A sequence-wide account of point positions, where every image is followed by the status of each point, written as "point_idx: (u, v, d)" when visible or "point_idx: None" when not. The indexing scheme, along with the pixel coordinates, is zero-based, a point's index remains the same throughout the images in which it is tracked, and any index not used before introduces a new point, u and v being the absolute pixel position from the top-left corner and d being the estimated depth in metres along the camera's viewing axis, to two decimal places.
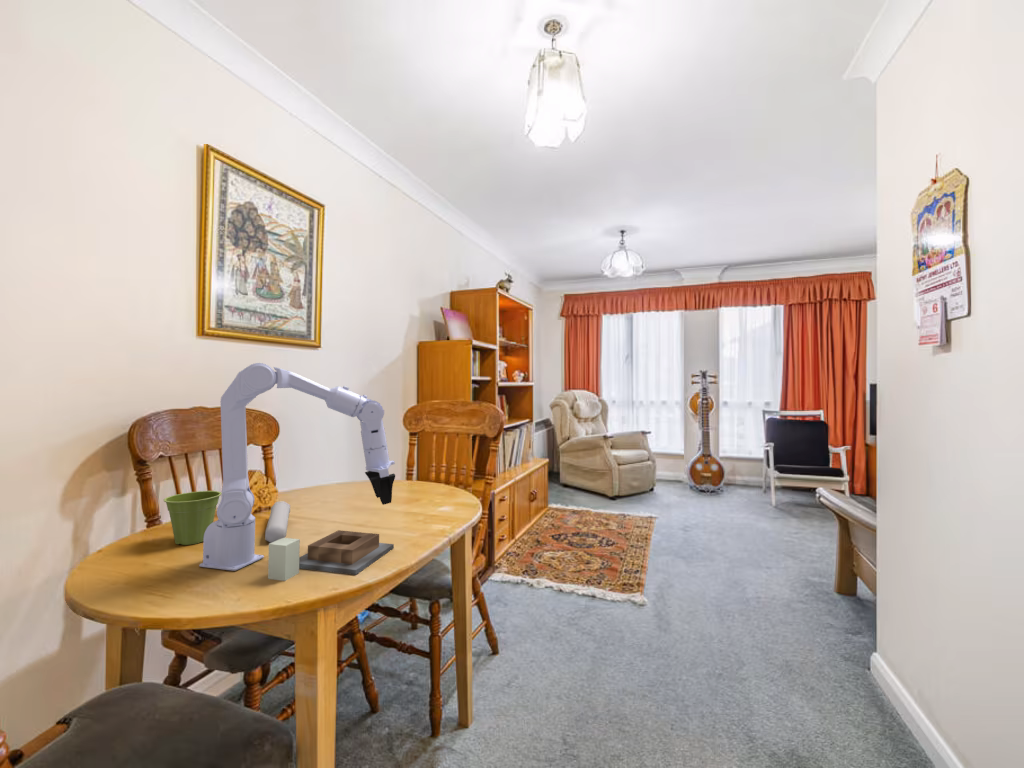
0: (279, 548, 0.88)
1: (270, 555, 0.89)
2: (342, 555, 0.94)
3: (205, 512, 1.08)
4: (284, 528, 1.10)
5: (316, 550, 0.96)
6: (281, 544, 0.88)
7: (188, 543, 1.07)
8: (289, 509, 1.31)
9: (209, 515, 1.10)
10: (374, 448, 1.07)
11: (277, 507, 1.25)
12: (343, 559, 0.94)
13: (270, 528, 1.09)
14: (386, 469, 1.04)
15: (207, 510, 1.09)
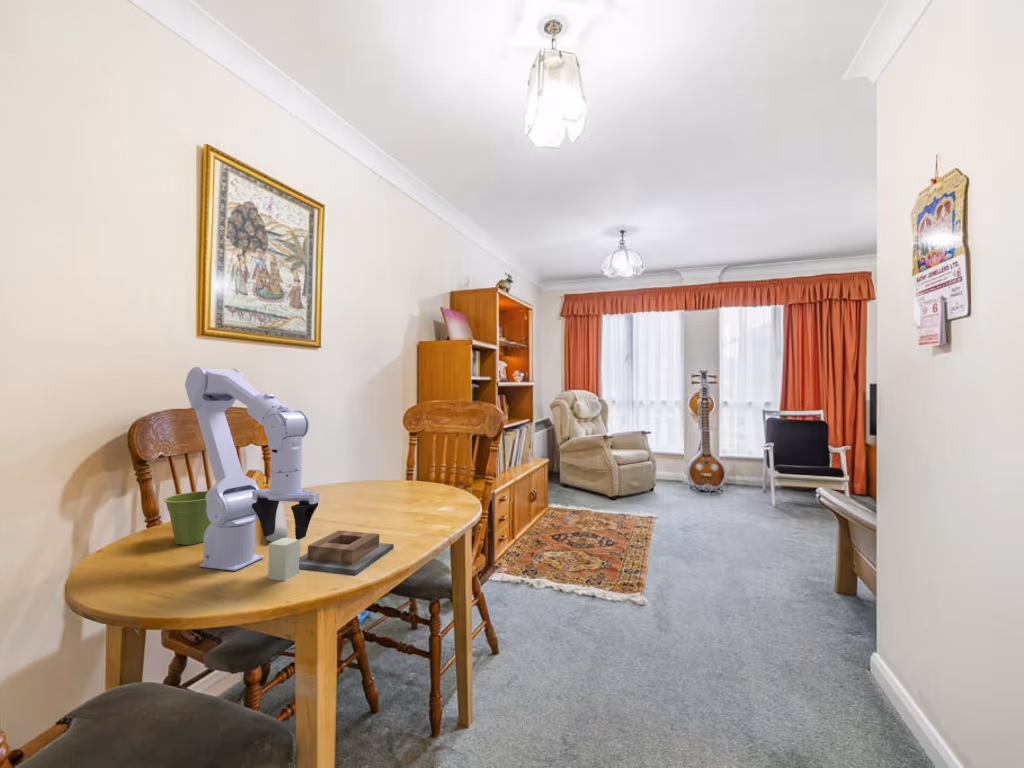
0: (279, 548, 0.88)
1: (270, 555, 0.89)
2: (342, 555, 0.94)
3: (205, 512, 1.08)
4: (285, 528, 1.11)
5: (316, 550, 0.96)
6: (281, 544, 0.88)
7: (188, 543, 1.07)
8: None
9: None
10: None
11: None
12: (343, 559, 0.94)
13: None
14: None
15: None
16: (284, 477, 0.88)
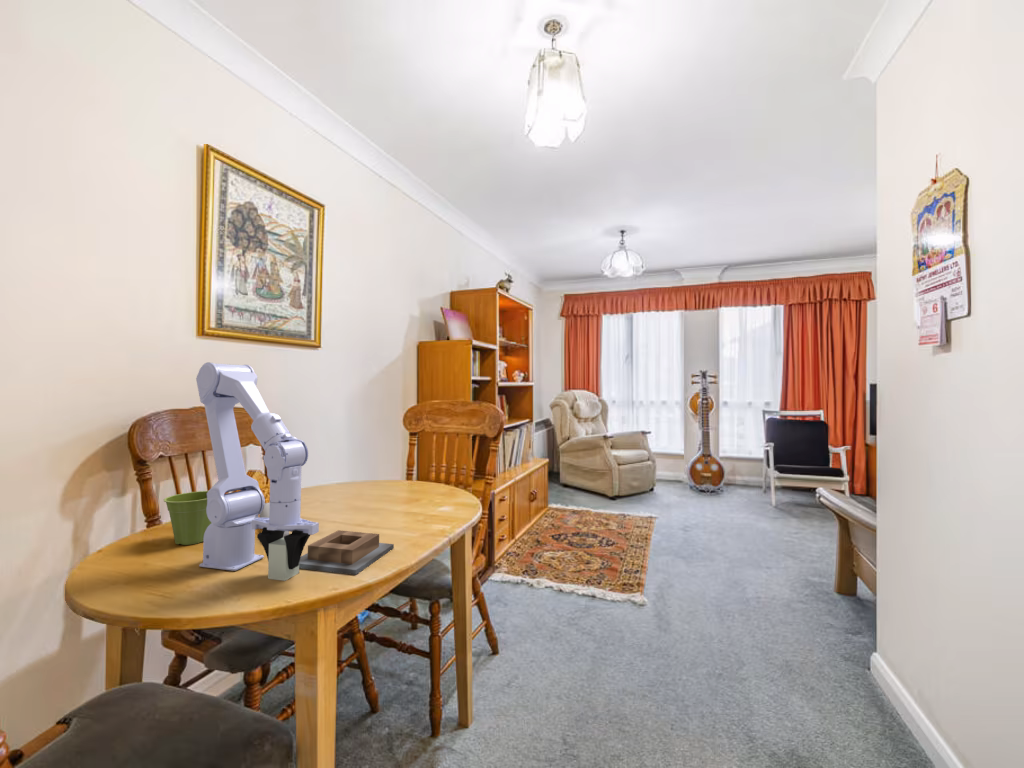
0: (279, 547, 0.88)
1: (270, 555, 0.89)
2: (342, 555, 0.94)
3: (205, 512, 1.08)
4: None
5: (316, 550, 0.96)
6: (281, 544, 0.88)
7: (188, 543, 1.07)
8: None
9: None
10: None
11: None
12: (343, 559, 0.94)
13: None
14: None
15: None
16: (283, 507, 0.88)
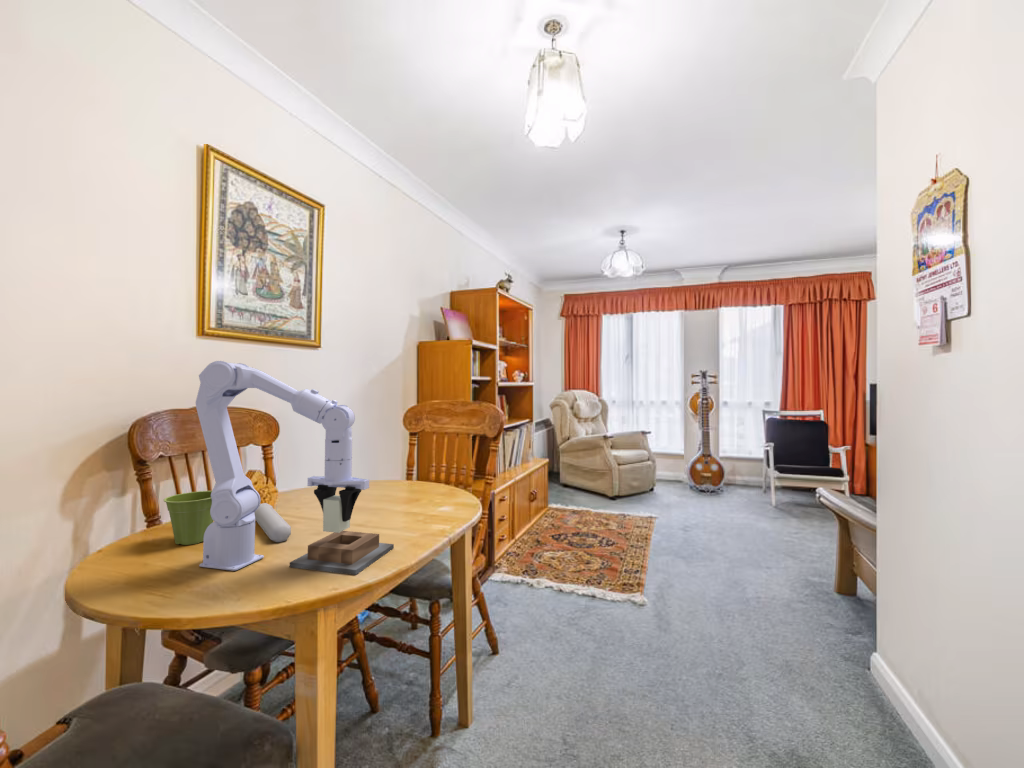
0: (332, 503, 0.97)
1: (325, 510, 0.97)
2: (342, 555, 0.94)
3: (205, 512, 1.08)
4: (289, 527, 1.12)
5: (316, 550, 0.96)
6: (334, 500, 0.97)
7: (188, 543, 1.07)
8: None
9: (209, 515, 1.10)
10: None
11: (264, 508, 1.23)
12: (343, 559, 0.94)
13: (276, 527, 1.09)
14: None
15: (207, 510, 1.09)
16: (338, 465, 0.97)
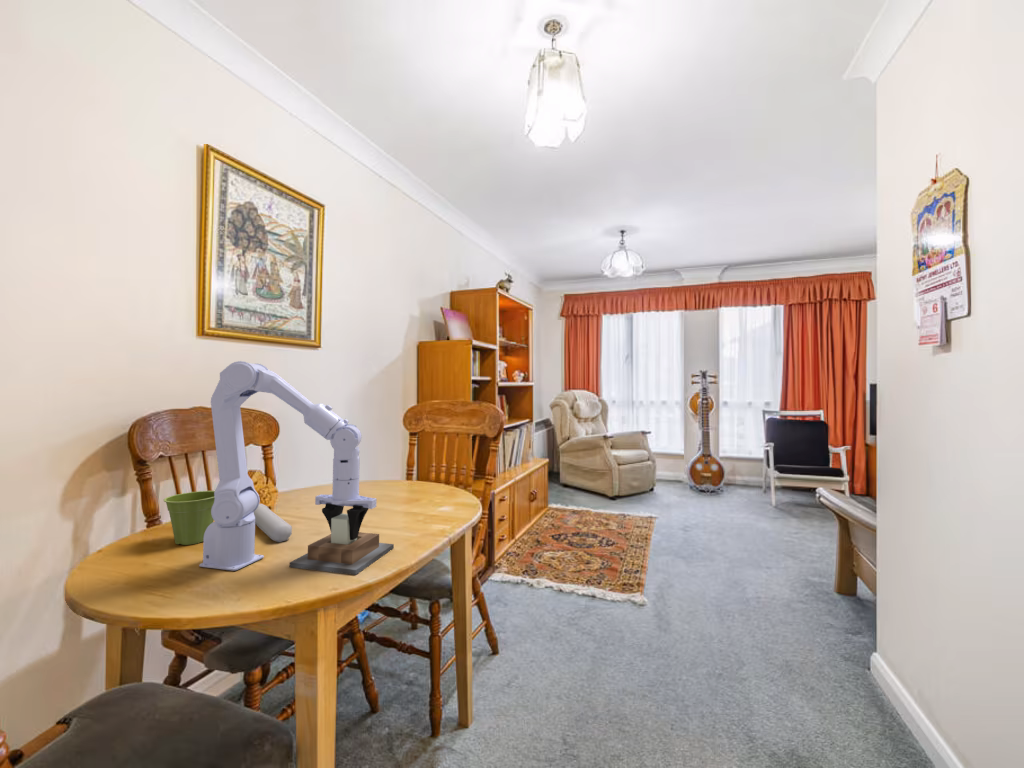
0: (340, 522, 0.98)
1: (332, 528, 0.99)
2: (342, 555, 0.94)
3: (205, 512, 1.08)
4: (290, 526, 1.12)
5: (316, 550, 0.96)
6: (342, 518, 0.98)
7: (188, 543, 1.07)
8: None
9: (209, 515, 1.10)
10: None
11: (261, 509, 1.23)
12: (343, 559, 0.94)
13: (277, 527, 1.09)
14: None
15: (207, 510, 1.09)
16: (346, 484, 0.98)
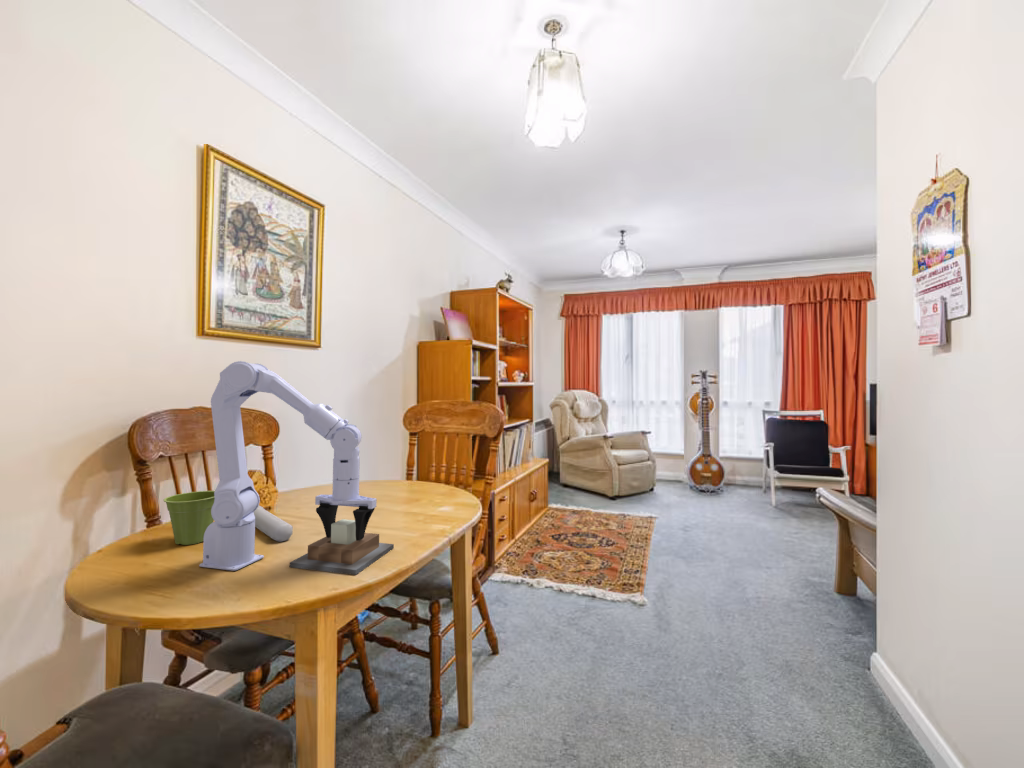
0: (340, 527, 0.98)
1: (332, 534, 0.99)
2: (342, 555, 0.94)
3: (205, 512, 1.08)
4: (291, 526, 1.12)
5: (316, 550, 0.96)
6: (342, 524, 0.99)
7: (188, 543, 1.07)
8: None
9: (209, 515, 1.10)
10: None
11: (258, 510, 1.22)
12: (343, 559, 0.94)
13: (279, 527, 1.10)
14: None
15: (207, 510, 1.09)
16: (346, 484, 0.98)
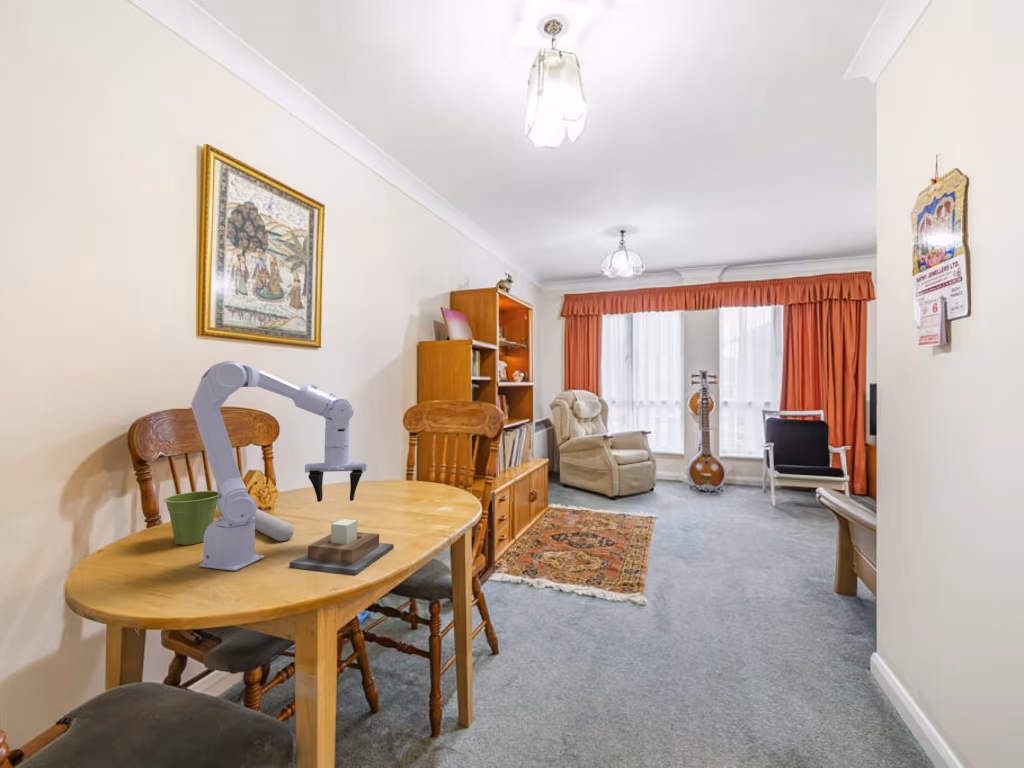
0: (340, 527, 0.98)
1: (332, 534, 0.99)
2: (342, 555, 0.94)
3: (205, 512, 1.08)
4: (292, 525, 1.13)
5: (316, 550, 0.96)
6: (342, 524, 0.99)
7: (188, 543, 1.07)
8: None
9: (209, 515, 1.10)
10: None
11: None
12: (343, 559, 0.94)
13: (280, 527, 1.10)
14: (305, 465, 1.09)
15: (207, 510, 1.09)
16: (341, 451, 1.09)
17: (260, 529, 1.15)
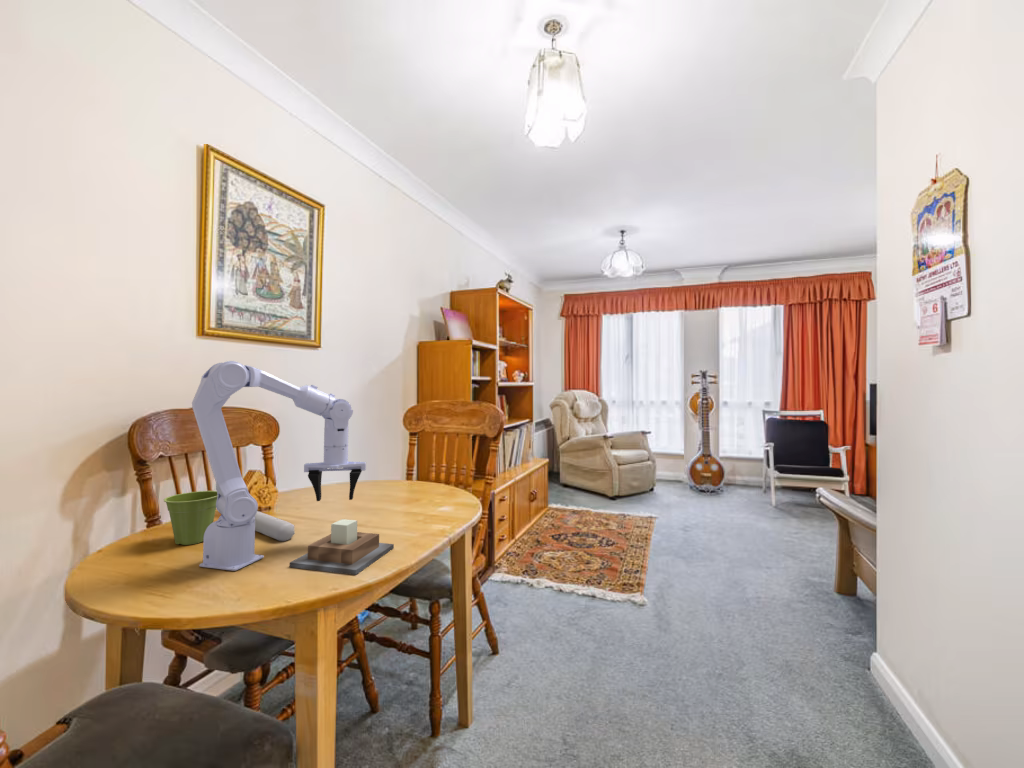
0: (340, 527, 0.98)
1: (332, 534, 0.99)
2: (342, 555, 0.94)
3: (205, 512, 1.08)
4: (293, 525, 1.13)
5: (316, 550, 0.96)
6: (342, 524, 0.99)
7: (188, 543, 1.07)
8: None
9: (209, 515, 1.10)
10: None
11: None
12: (343, 559, 0.94)
13: (282, 526, 1.10)
14: (304, 465, 1.09)
15: (207, 510, 1.09)
16: (341, 450, 1.10)
17: (259, 529, 1.14)
